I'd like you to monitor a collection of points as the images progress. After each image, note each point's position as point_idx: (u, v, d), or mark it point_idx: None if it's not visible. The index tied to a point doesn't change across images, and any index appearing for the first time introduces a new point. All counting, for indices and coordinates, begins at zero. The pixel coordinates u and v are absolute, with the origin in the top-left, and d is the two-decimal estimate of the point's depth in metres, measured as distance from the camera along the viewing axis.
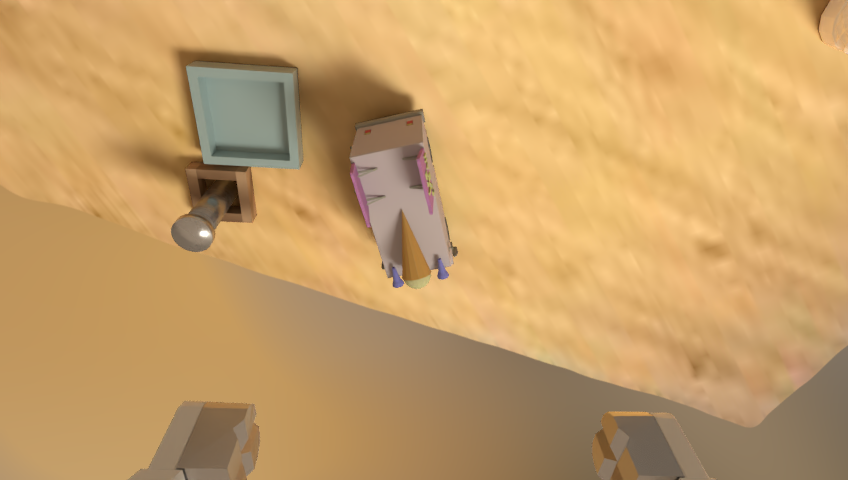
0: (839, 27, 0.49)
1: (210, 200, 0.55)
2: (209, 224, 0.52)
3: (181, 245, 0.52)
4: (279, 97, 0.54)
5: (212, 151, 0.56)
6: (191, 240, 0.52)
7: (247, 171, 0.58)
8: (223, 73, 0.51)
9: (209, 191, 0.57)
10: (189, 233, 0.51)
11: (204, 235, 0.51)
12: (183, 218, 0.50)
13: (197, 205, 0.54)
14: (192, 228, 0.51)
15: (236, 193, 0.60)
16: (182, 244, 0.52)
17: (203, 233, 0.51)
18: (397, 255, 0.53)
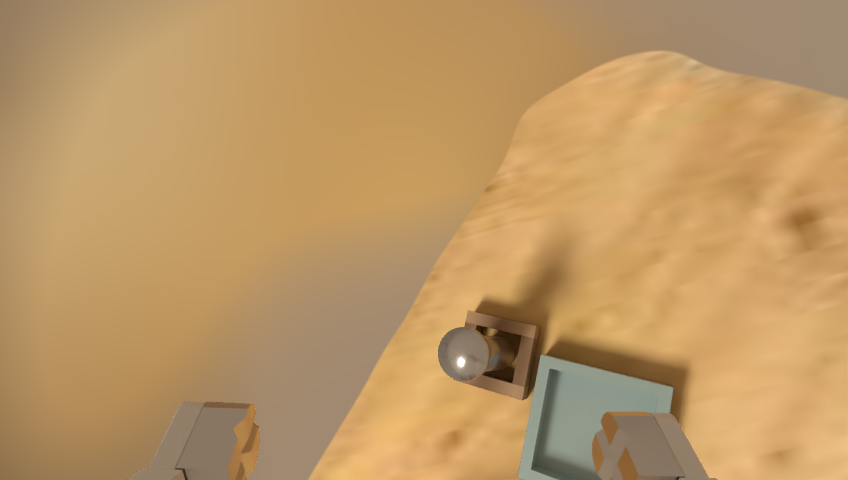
0: None
1: (497, 362, 0.43)
2: (472, 379, 0.39)
3: (450, 333, 0.40)
4: None
5: None
6: (455, 350, 0.39)
7: None
8: None
9: (505, 352, 0.45)
10: (465, 351, 0.39)
11: (459, 370, 0.39)
12: (487, 353, 0.38)
13: (494, 350, 0.42)
14: (471, 358, 0.38)
15: None
16: (451, 335, 0.40)
17: (463, 370, 0.39)
18: None
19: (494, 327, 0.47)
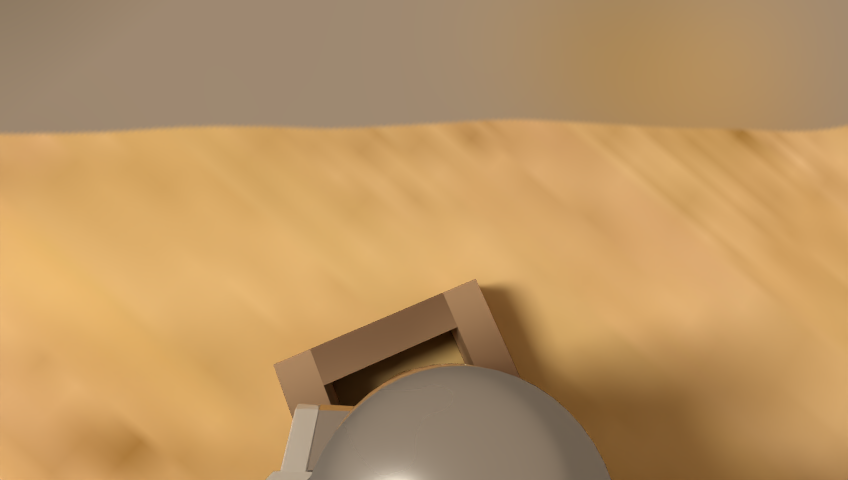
0: None
1: None
2: None
3: (510, 389, 0.07)
4: None
5: None
6: None
7: None
8: None
9: None
10: None
11: None
12: None
13: None
14: None
15: None
16: (506, 403, 0.07)
17: None
18: None
19: None
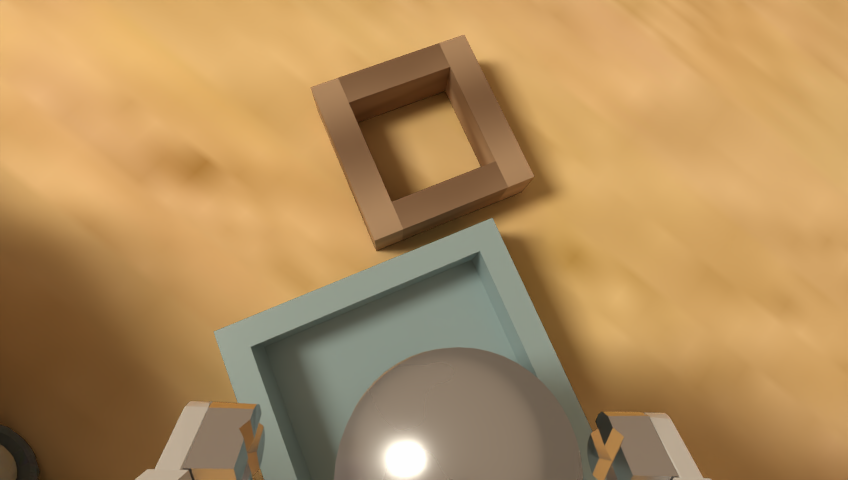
0: None
1: None
2: None
3: (498, 366, 0.09)
4: None
5: (481, 262, 0.19)
6: (452, 435, 0.08)
7: (373, 239, 0.19)
8: None
9: None
10: None
11: None
12: None
13: None
14: None
15: None
16: (494, 376, 0.08)
17: None
18: None
19: (471, 102, 0.20)
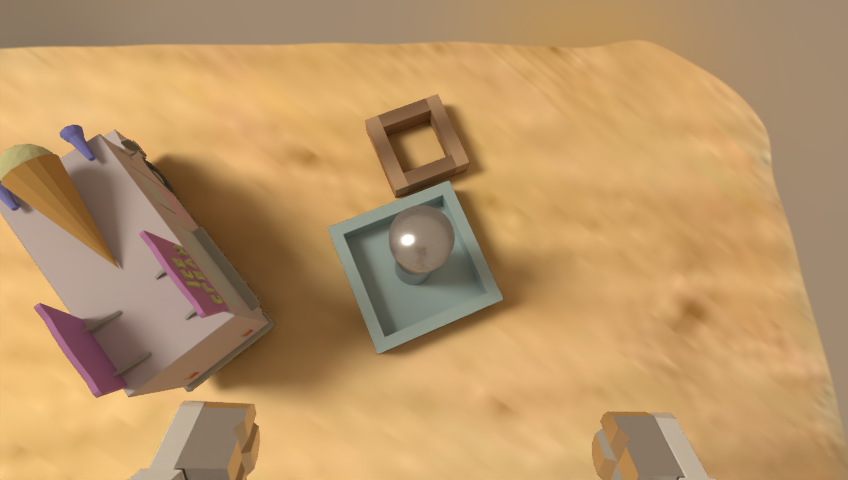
0: None
1: (419, 274, 0.35)
2: (401, 264, 0.31)
3: (432, 210, 0.31)
4: (386, 307, 0.40)
5: (444, 200, 0.41)
6: (419, 227, 0.31)
7: (394, 190, 0.42)
8: (459, 312, 0.39)
9: (428, 274, 0.37)
10: (426, 238, 0.30)
11: (402, 245, 0.30)
12: (441, 262, 0.30)
13: None
14: (424, 250, 0.30)
15: (395, 270, 0.40)
16: (431, 212, 0.31)
17: (405, 249, 0.30)
18: (97, 182, 0.30)
19: (440, 127, 0.43)
